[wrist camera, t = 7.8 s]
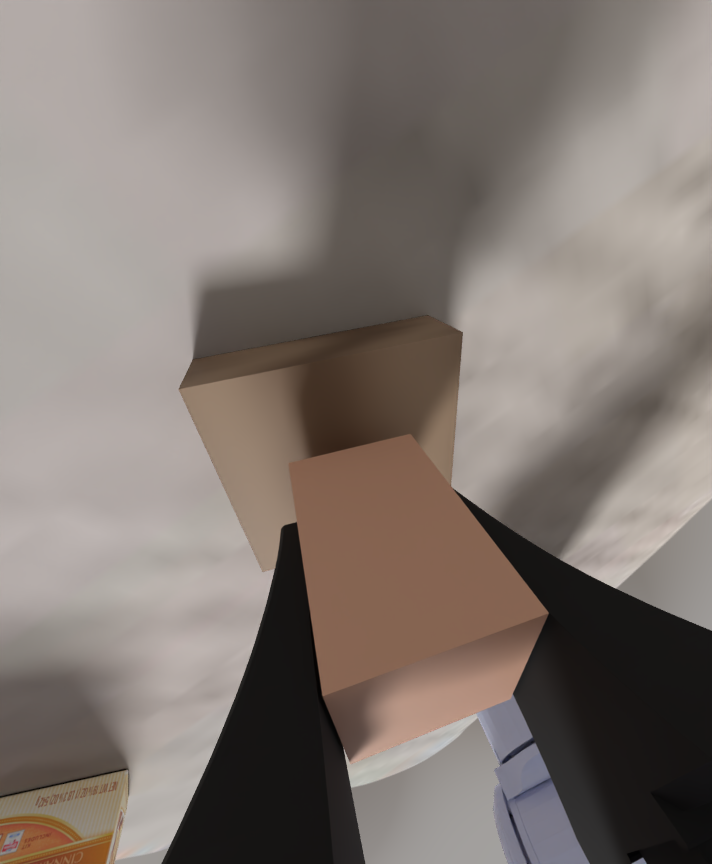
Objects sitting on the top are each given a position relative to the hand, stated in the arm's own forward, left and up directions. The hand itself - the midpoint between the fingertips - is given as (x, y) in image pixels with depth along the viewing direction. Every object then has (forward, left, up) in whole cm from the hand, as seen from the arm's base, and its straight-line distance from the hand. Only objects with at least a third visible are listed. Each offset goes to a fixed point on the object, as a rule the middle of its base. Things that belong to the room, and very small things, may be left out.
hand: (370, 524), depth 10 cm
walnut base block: (0, 0, -6) cm, 6 cm away
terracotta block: (0, 0, -1) cm, 1 cm away
